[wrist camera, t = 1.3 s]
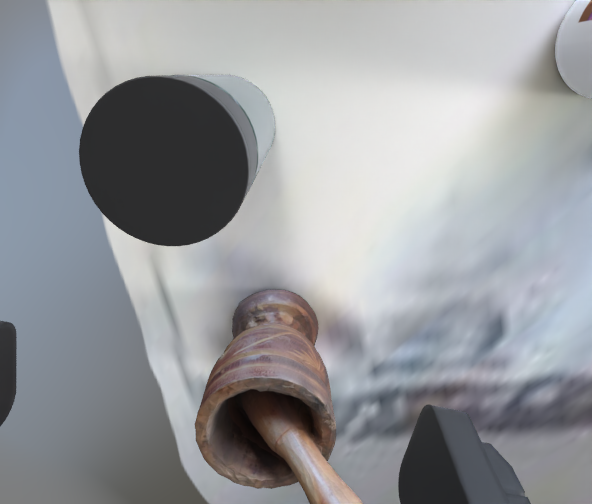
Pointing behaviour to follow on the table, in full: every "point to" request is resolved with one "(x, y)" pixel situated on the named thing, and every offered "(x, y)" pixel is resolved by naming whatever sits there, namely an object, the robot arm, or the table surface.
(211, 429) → the mortar and pestle
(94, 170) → the lid
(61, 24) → the table surface
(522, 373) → the table surface
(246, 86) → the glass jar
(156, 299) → the table surface
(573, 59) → the milk bottle
